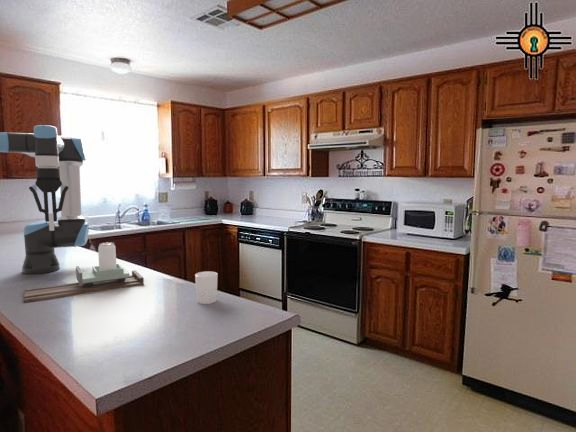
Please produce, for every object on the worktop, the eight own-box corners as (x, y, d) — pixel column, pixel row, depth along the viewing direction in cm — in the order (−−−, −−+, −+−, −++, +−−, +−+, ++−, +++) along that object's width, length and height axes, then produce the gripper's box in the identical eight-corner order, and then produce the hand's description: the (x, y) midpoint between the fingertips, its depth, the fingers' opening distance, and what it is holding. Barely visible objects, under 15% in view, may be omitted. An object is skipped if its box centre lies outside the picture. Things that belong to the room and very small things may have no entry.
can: (109, 274, 156) (108, 245, 154) (95, 273, 157) (94, 244, 156) (120, 270, 162) (118, 242, 161) (106, 270, 163) (105, 241, 162)
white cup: (221, 299, 142) (221, 272, 141) (210, 305, 134) (210, 277, 133) (203, 296, 144) (202, 270, 143) (191, 303, 137) (190, 275, 136)
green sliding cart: (76, 281, 159) (75, 266, 159) (123, 275, 169) (122, 261, 168) (80, 288, 148) (79, 273, 148) (129, 281, 158) (129, 267, 158)
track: (25, 292, 151) (24, 284, 150) (135, 276, 173) (135, 270, 173) (24, 302, 138) (23, 294, 138) (143, 284, 160) (143, 277, 160)
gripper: (67, 168, 151) (70, 227, 154) (27, 167, 144) (31, 230, 147) (68, 167, 145) (72, 230, 148) (26, 167, 138) (31, 232, 141)
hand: (51, 230), depth 147 cm, fingers closed
